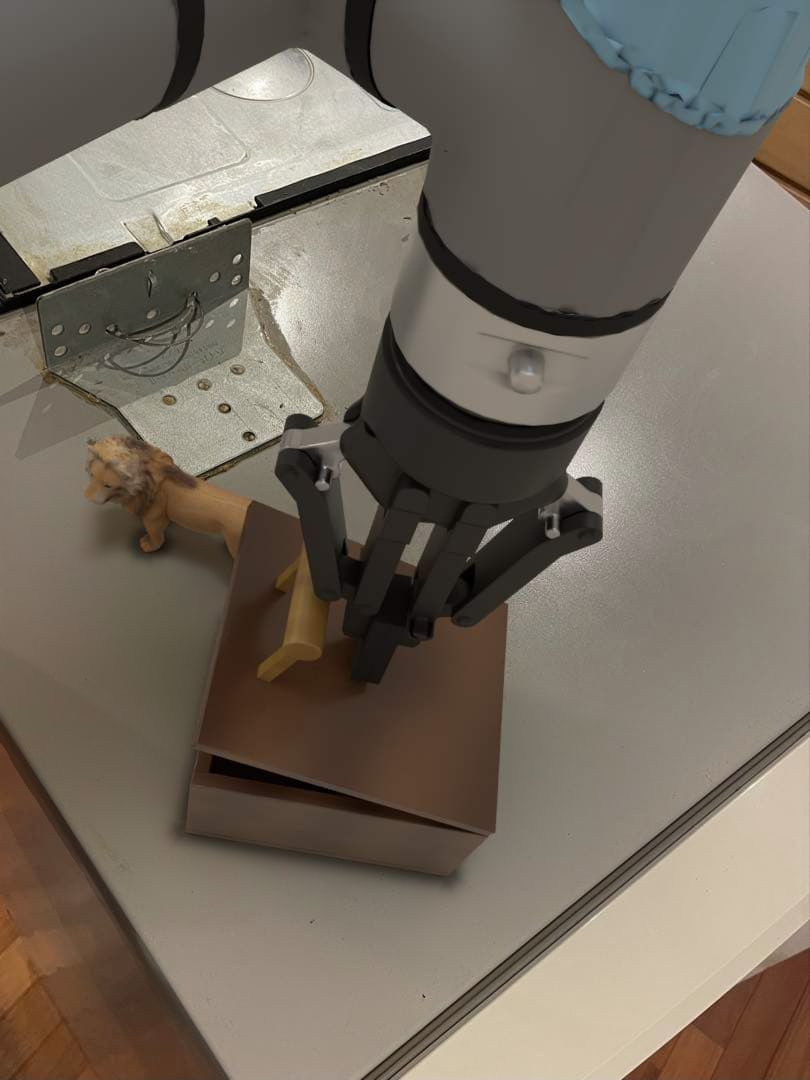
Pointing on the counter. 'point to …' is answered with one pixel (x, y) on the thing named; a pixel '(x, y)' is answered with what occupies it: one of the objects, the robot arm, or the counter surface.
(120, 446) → the lion figurine
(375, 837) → the chest
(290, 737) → the chest lid
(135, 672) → the counter surface
